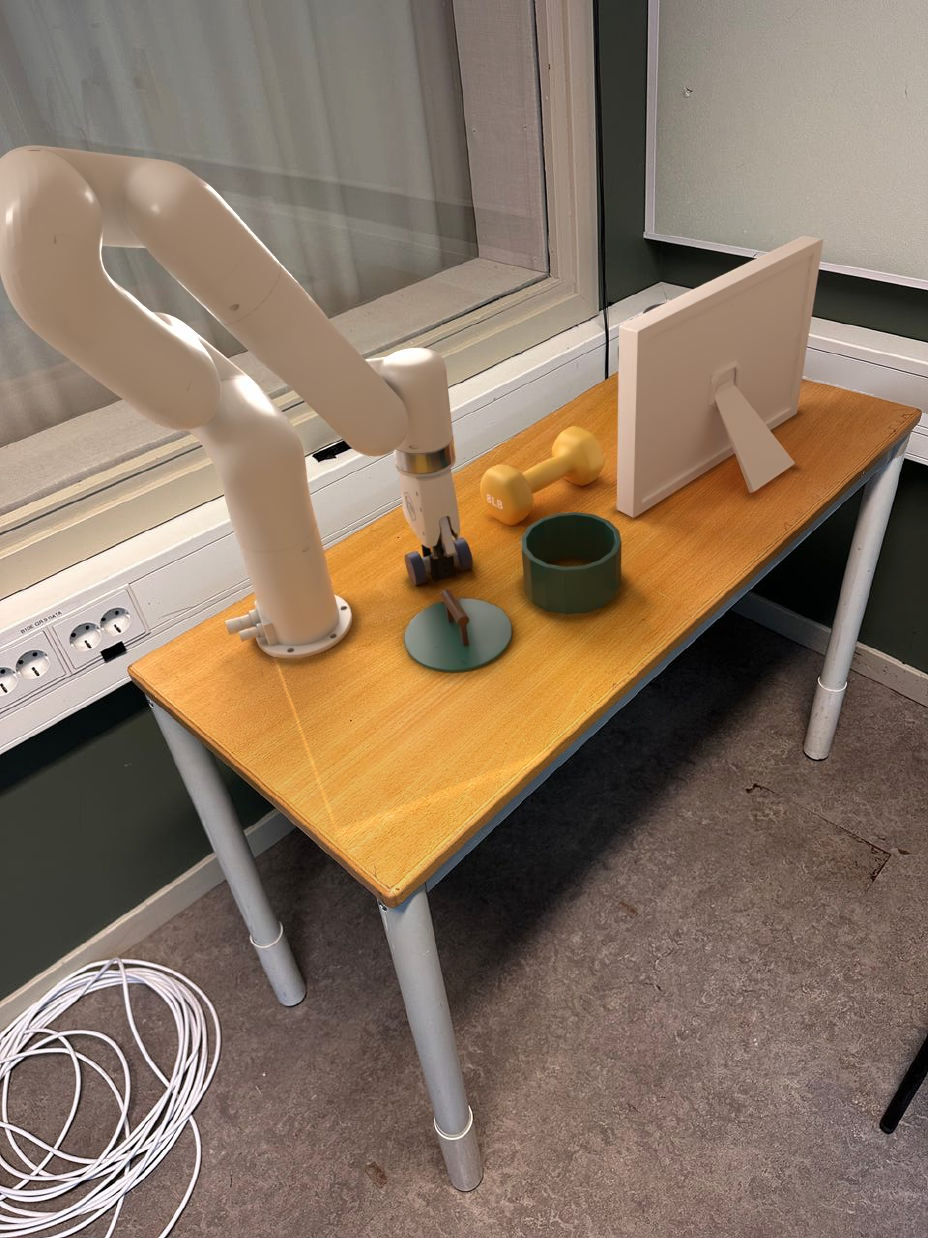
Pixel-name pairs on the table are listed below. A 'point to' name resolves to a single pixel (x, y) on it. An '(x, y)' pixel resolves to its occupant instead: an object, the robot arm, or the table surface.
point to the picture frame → (714, 376)
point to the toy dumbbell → (421, 566)
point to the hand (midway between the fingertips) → (440, 570)
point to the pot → (575, 583)
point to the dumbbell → (541, 475)
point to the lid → (458, 634)
